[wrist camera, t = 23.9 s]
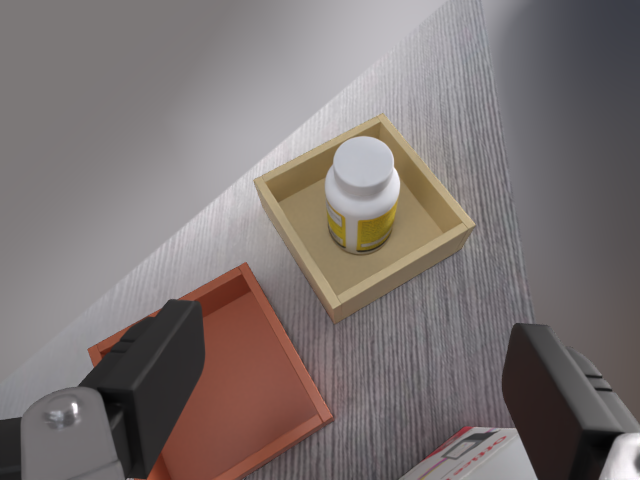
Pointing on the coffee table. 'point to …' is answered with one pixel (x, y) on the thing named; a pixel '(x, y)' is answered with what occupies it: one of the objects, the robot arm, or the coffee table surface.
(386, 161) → the supplement bottle
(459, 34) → the coffee table surface
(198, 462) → the terracotta bin
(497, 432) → the ink box
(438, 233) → the cream bin
